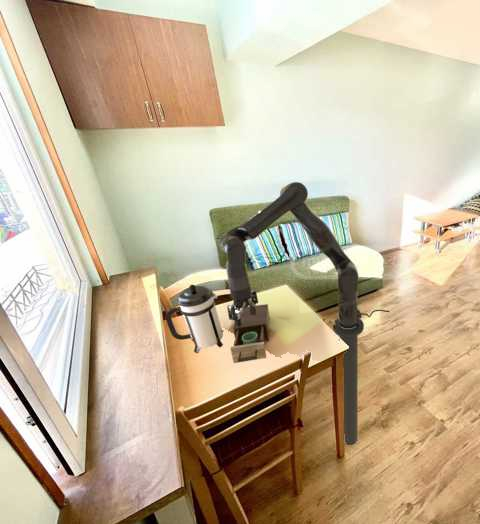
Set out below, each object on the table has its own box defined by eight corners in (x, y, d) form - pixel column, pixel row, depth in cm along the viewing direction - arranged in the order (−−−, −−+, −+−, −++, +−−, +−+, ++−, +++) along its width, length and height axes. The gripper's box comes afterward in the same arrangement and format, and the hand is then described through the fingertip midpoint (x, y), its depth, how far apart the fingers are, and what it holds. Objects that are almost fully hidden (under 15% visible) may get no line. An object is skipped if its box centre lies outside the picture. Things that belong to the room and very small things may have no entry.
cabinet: (269, 340, 125) (266, 323, 121) (236, 345, 122) (232, 328, 118) (270, 319, 140) (267, 304, 136) (241, 323, 137) (238, 307, 133)
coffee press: (211, 326, 133) (194, 271, 119) (234, 337, 126) (220, 280, 112) (176, 349, 120) (153, 291, 106) (200, 363, 113) (179, 303, 99)
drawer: (265, 366, 109) (263, 351, 106) (231, 372, 106) (228, 357, 103) (267, 334, 127) (265, 321, 124) (238, 339, 125) (235, 325, 122)
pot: (259, 340, 122) (257, 330, 119) (258, 350, 116) (256, 339, 114) (244, 343, 120) (242, 332, 118) (243, 353, 115) (240, 342, 112)
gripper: (244, 275, 114) (250, 309, 120) (218, 291, 102) (226, 328, 108) (259, 278, 112) (264, 312, 118) (234, 295, 99) (241, 332, 106)
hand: (246, 320), depth 113 cm, fingers open, 8 cm apart
